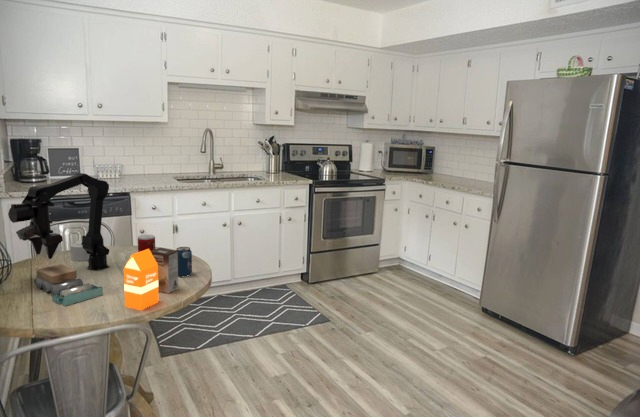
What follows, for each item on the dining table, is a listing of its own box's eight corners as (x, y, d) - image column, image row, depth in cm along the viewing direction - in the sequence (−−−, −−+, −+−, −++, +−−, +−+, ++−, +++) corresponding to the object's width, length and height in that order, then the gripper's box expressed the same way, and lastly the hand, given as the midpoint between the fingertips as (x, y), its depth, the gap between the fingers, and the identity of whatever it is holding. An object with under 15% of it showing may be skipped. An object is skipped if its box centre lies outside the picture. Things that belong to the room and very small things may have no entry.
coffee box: (149, 290, 173) (148, 251, 170) (160, 285, 179) (159, 247, 176) (168, 294, 170) (167, 254, 167) (179, 288, 176) (178, 250, 173)
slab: (61, 271, 178) (60, 264, 177) (76, 277, 171) (76, 270, 171) (37, 277, 170) (36, 269, 170) (52, 284, 164) (51, 276, 163)
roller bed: (68, 279, 181) (67, 269, 180) (104, 294, 167) (103, 283, 166) (29, 289, 169) (28, 278, 168) (63, 306, 155) (63, 295, 154)
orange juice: (124, 306, 157) (122, 253, 153) (142, 298, 165) (140, 247, 161) (142, 310, 154) (140, 256, 151) (159, 301, 162) (157, 249, 159)
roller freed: (87, 291, 169) (86, 282, 168) (92, 294, 167) (92, 284, 166) (60, 299, 161) (59, 289, 160) (65, 302, 159) (65, 292, 158)
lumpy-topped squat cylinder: (104, 259, 209) (103, 241, 207) (73, 263, 201) (71, 245, 200) (99, 253, 217) (98, 236, 215) (69, 257, 209) (68, 239, 208)
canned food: (149, 261, 208) (149, 239, 206) (134, 259, 210) (134, 237, 207) (158, 257, 215) (158, 235, 213) (144, 255, 217) (143, 233, 215)
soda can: (192, 276, 190) (192, 250, 188) (175, 278, 187) (175, 251, 185) (191, 271, 196) (191, 245, 194) (175, 272, 194) (174, 246, 192)
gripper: (6, 217, 170) (10, 256, 173) (30, 225, 160) (34, 266, 163) (37, 213, 179) (40, 250, 182) (62, 220, 169) (64, 259, 172)
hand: (44, 256), depth 174 cm, fingers open, 9 cm apart
